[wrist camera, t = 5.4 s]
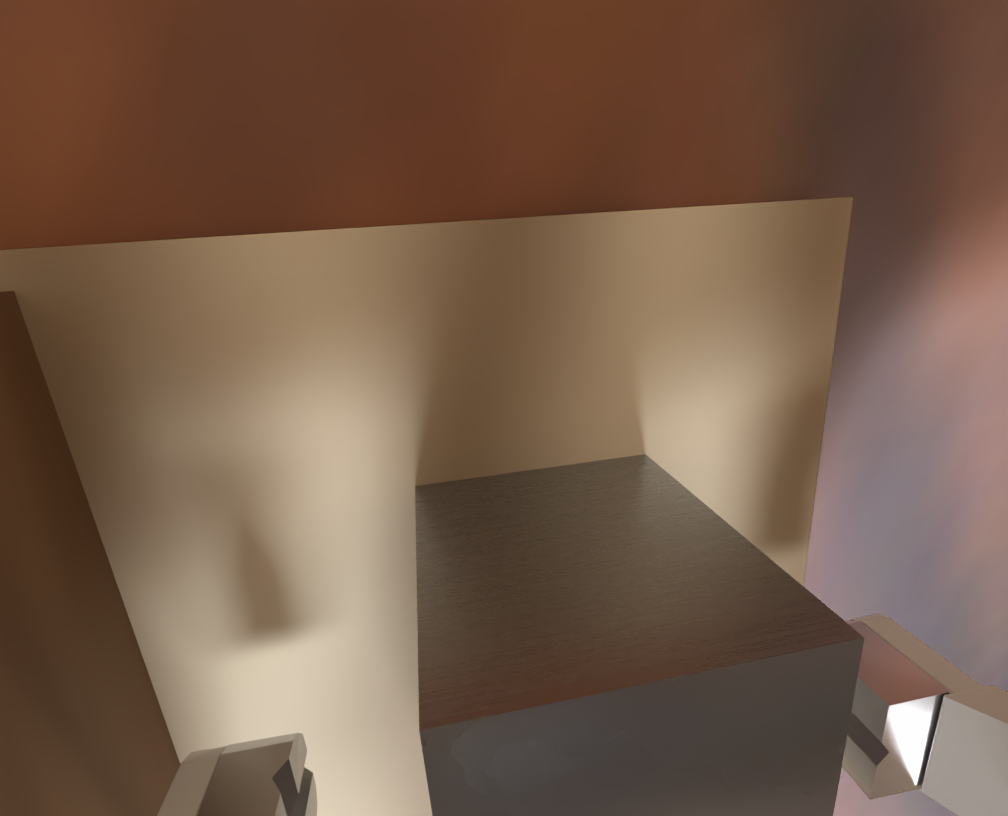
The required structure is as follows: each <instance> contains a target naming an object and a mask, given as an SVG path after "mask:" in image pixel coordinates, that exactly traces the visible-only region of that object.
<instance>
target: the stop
mask: <svg viewBox="0 0 1008 816" xmlns="http://www.w3.org/2000/svg"><path fill="white" fill-rule="evenodd" d="M415 514H416V571H417V628H418V686H419V732H420V739H421V745H422V752H423V758H424V764H425V771H426V777H427V784H428V790H429V796H430V803H431V809H432V816H833V812H834V806H835V801H836V795H837V789H838V784H839V778H840V773H841V767H842V761H843V756H844V750H845V744H846V739H847V733H848V728H849V722H850V716H851V711H852V705H853V699H854V694H855V688H856V683H857V677H858V671H859V666H860V660H861V654H862V649H863V643H864V637H863V636H862V635H861V634H859V633H858V632H857V631H856V630H855V629H853V628H852V627H851V626H850V625H849V624H847V623H846V622H845V621H844V620H843V619H841V618H840V617H839V616H838V615H837V614H836V613H834V612H833V611H832V610H831V609H830V608H828V607H827V606H826V605H825V604H824V603H822V602H821V601H820V600H819V599H818V598H816V597H815V596H814V595H813V594H812V593H810V592H809V591H808V590H807V589H806V588H805V587H803V586H802V585H801V584H800V583H799V582H797V581H796V580H795V579H794V578H793V577H791V576H790V575H789V574H788V573H787V572H785V571H784V570H783V569H782V568H781V567H780V566H778V565H777V564H776V563H775V562H774V561H772V560H771V559H770V558H769V557H768V556H766V555H765V554H764V553H763V552H762V551H760V550H759V549H758V548H757V547H756V546H754V545H753V544H752V543H751V542H750V541H749V540H747V539H746V538H745V537H744V536H743V535H741V534H740V533H739V532H738V531H737V530H735V529H734V528H733V527H732V526H731V525H729V524H728V523H727V522H726V521H725V520H723V519H722V518H721V517H720V516H719V515H718V514H716V513H715V512H714V511H713V510H712V509H710V508H709V507H708V506H707V505H706V504H704V503H703V502H702V501H701V500H700V499H698V498H697V497H696V496H695V495H694V494H693V493H691V492H690V491H689V490H688V489H687V488H685V487H684V486H683V485H682V484H681V483H679V482H678V481H677V480H676V479H675V478H673V477H672V476H671V475H670V474H669V473H667V472H666V471H665V470H664V469H663V468H662V467H660V466H659V465H658V464H657V463H656V462H654V461H653V460H652V459H651V458H650V457H648V456H647V455H646V454H643V455H636V456H629V457H621V458H614V459H607V460H600V461H592V462H585V463H578V464H571V465H564V466H556V467H549V468H542V469H535V470H527V471H520V472H513V473H506V474H498V475H491V476H484V477H477V478H470V479H462V480H455V481H448V482H441V483H433V484H426V485H419V486H415Z"/></svg>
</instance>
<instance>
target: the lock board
mask: <svg viewBox="0 0 1008 816" xmlns="http://www.w3.org/2000/svg"><path fill="white" fill-rule="evenodd" d="M852 204H853V197H841V198H825V199H809V200H793V201H777V202H761V203H745V204H729V205H713V206H697V207H681V208H665V209H649V210H633V211H617V212H601V213H585V214H569V215H553V216H537V217H521V218H505V219H489V220H474V221H458V222H442V223H426V224H410V225H394V226H378V227H362V228H346V229H330V230H314V231H298V232H282V233H266V234H250V235H234V236H218V237H202V238H186V239H170V240H154V241H138V242H122V243H106V244H90V245H74V246H58V247H42V248H26V249H10V250H0V816H157V814H158V811H159V809H160V807H161V805H162V803H163V801H164V798H165V796H166V794H167V792H168V790H169V788H170V785H171V783H172V781H173V779H174V777H175V775H176V772H177V770H178V768H179V766H180V764H181V763H182V762H183V760H184V759H185V758H186V757H187V756H188V755H189V754H190V752H195V751H200V750H206V749H211V748H217V747H223V746H227V745H230V744H236V743H242V742H248V741H253V740H259V739H265V738H270V737H276V736H282V735H288V734H293V733H302V734H303V737H304V740H305V743H306V747H307V755H306V760H305V765H304V767H305V768H307V769H308V770H310V771H311V772H313V775H314V779H315V783H316V792H317V816H432V809H431V803H430V796H429V790H428V784H427V777H426V771H425V764H424V758H423V752H422V745H421V739H420V732H419V686H418V628H417V571H416V514H415V486H419V485H426V484H433V483H441V482H448V481H455V480H462V479H470V478H477V477H484V476H491V475H498V474H506V473H513V472H520V471H527V470H535V469H542V468H549V467H556V466H564V465H571V464H578V463H585V462H592V461H600V460H607V459H614V458H621V457H629V456H636V455H643V454H646V455H647V456H648V457H650V458H651V459H652V460H653V461H654V462H656V463H657V464H658V465H659V466H660V467H662V468H663V469H664V470H665V471H666V472H667V473H669V474H670V475H671V476H672V477H673V478H675V479H676V480H677V481H678V482H679V483H681V484H682V485H683V486H684V487H685V488H687V489H688V490H689V491H690V492H691V493H693V494H694V495H695V496H696V497H697V498H698V499H700V500H701V501H702V502H703V503H704V504H706V505H707V506H708V507H709V508H710V509H712V510H713V511H714V512H715V513H716V514H718V515H719V516H720V517H721V518H722V519H723V520H725V521H726V522H727V523H728V524H729V525H731V526H732V527H733V528H734V529H735V530H737V531H738V532H739V533H740V534H741V535H743V536H744V537H745V538H746V539H747V540H749V541H750V542H751V543H752V544H753V545H754V546H756V547H757V548H758V549H759V550H760V551H762V552H763V553H764V554H765V555H766V556H768V557H769V558H770V559H771V560H772V561H774V562H775V563H776V564H777V565H778V566H780V567H781V568H782V569H783V570H784V571H785V572H787V573H788V574H789V575H790V576H791V577H793V578H794V579H795V580H796V581H797V582H799V583H800V584H801V585H802V586H803V585H804V577H805V570H806V562H807V554H808V546H809V538H810V531H811V523H812V515H813V507H814V500H815V492H816V484H817V476H818V468H819V461H820V453H821V445H822V437H823V430H824V422H825V414H826V406H827V398H828V391H829V383H830V375H831V367H832V360H833V352H834V344H835V336H836V328H837V321H838V313H839V305H840V297H841V290H842V282H843V274H844V266H845V258H846V251H847V243H848V235H849V227H850V220H851V212H852Z"/></svg>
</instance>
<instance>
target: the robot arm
mask: <svg viewBox="0 0 1008 816" xmlns="http://www.w3.org/2000/svg"><path fill="white" fill-rule="evenodd" d="M845 622H846V623H847V624H849V625H850V626H851V627H852V628H853V629H855V630H856V631H857V632H858V633H859V634H861V635H862V636H863V637H864V643H863V649H862V654H861V660H860V666H859V671H858V677H857V683H856V688H855V694H854V699H853V705H852V711H851V716H850V722H849V728H848V733H847V739H846V744H845V750H844V756H843V761H842V767H843V768H844V769H845V771H846V772H847V773H848V774H849V775H850V776H851V778H852V779H853V780H854V781H855V782H856V784H857V785H858V786H859V787H860V788H861V789H862V791H863V792H864V793H865V794H866V795H867V796H868V798H869V799H874V798H879V797H883V796H888V795H892V794H897V793H901V792H905V791H910V790H914V789H919V788H921V792H922V793H924V794H925V795H927V796H928V797H930V798H931V799H933V800H934V801H936V802H938V803H939V804H941V805H942V806H944V807H945V808H947V809H948V810H950V811H951V812H953V813H955V814H956V815H958V816H1008V691H1005V690H1002V689H1000V688H997V687H995V686H992V685H986V686H980V685H979V684H978V683H976V682H975V681H974V680H972V679H971V678H970V677H968V676H967V675H966V674H964V673H963V672H962V671H960V670H959V669H958V668H956V667H955V666H954V665H952V664H951V663H950V662H948V661H947V660H946V659H944V658H943V657H942V656H940V655H939V654H938V653H936V652H935V651H934V650H932V649H931V648H930V647H928V646H927V645H926V644H924V643H923V642H921V641H920V640H919V639H917V638H916V637H915V636H913V635H912V634H911V633H909V632H908V631H907V630H905V629H904V628H903V627H901V626H900V625H899V624H897V623H896V622H895V621H893V620H892V619H891V618H888V617H886V616H883V615H881V614H875V615H870V616H865V617H861V618H856V619H852V620H845ZM306 755H307V747H306V743H305V740H304V737H303V734H302V733H293V734H288V735H282V736H276V737H270V738H265V739H259V740H253V741H248V742H242V743H236V744H230V745H227V746H223V747H217V748H211V749H206V750H200V751H195V752H190V754H189V755H188V756H187V757H186V758H185V759H184V760H183V762H182V763H181V764H180V766H179V768H178V770H177V772H176V775H175V777H174V779H173V781H172V783H171V785H170V788H169V790H168V792H167V794H166V796H165V798H164V801H163V803H162V805H161V807H160V809H159V811H158V814H157V816H317V792H316V783H315V779H314V775H313V772H311V771H310V770H308V769H307V768H305V767H304V765H305V760H306Z"/></svg>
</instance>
